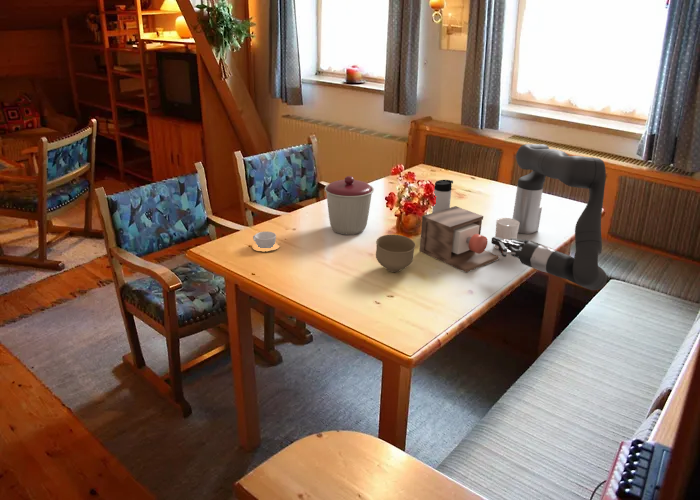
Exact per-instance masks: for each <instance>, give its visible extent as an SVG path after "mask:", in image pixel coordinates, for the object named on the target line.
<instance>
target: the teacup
mask: <svg viewBox="0 0 700 500" xmlns="http://www.w3.org/2000/svg"><path fill="white" fill-rule="evenodd" d="M252 239H253V241H254V243H256V244H257V245H258V247H260V248H271V247H273V245H274V244H275V242H276V240H277V234H276V233H275V232H272V231H260V232H257V233H255V234H254V235H253V236H252Z"/></svg>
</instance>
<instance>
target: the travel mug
mask: <svg viewBox="0 0 700 500" xmlns="http://www.w3.org/2000/svg"><path fill="white" fill-rule="evenodd" d="M453 184H454V180H450V179H440V180H436V181H435V182H434V189H433V194H434V193H435V196H437V197H436V204H435V206H433V205H432V210H431V211H432V213H434V212H438V211H441V210H444V209H448V208H451V198H452V187H453V186H452V185H453ZM434 190H435V191H434Z"/></svg>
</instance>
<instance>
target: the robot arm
mask: <svg viewBox="0 0 700 500" xmlns="http://www.w3.org/2000/svg"><path fill="white" fill-rule="evenodd" d="M515 155H516V156H515V159H516V162H517V163H516V164H517V165H518V167H519V168H520V169H521V170H526V171H527V170H529V171H530V170H531V172H529V173H528V174H526V175H523V176H521V177H519V178H518V180H517V184H516V185H517V186H516V187H517V188H516V193H515V200H514V206H513V212H512V213H513V215H512V219H515V220H517V221H519V223H520V224H519V229H518V233H519V234H526V235H530V234H534V233H536V232H538V231H539V228H540V222H541V217H542V216H541V215H542V209H543V207H541V202H542V195H543V189H544V186H545V185H544V184H545V182H546V178H550V179H553V180H558V181H560V182H561V183H563V184H564V185H565V186H568V187H571V188H577V189H587V190H588V191H589V192H588V193H589V197H588V201H587V203H586V205H585V208H584V209H583V210H582V212H581V214H580V215H579V217H578V218H577V221H576V224H575V226H574V227H575V228H574V243H575V246H574V247H575V252H574V257H573V256H571V255H569V254H567V253H564V252H561V251H558V250H556V249H554V248H552V247H550V246H546V245H544V244H541V243H538V242H535V241H532V240H528V239H522V238H521V239H520V238H516V239H509V240H508V239H501V238H499V237H495V236H492V237H491V244H492V245H494V246H495V245H497V246H499V248H498V249H497V250H498V252H499V253H500V255H501V256H502V257H503V258H506V257H507V256H508V255H510V256H511V257H514V258H518V259H519V261H520V264H522V265H525V266H527V267H529V268H533V269H535V270H537V271H540V272H544V273H547V274H550V275H552V276H555V277H558V278H561V279H563V280H567V281H570V282H571V283H573V284H576V285H578V286H580V287H582V288H584V289H587V290H591V291H597V290H600V289H603V287H605V285H606V284H607V281H608V275H607V273H606V271H605V270H604V269H603V268H602V267H600V266H599V255H600V254H602V250H603V242H602V241H603V240H602V213H603V206H604V205H603V203H604V197H605V189H606V188H605V186H606V174H607V173H606V171H607V170H606V165H605V162H604V160H602V159H601V158H598V157H593V156H592V157H591V156H585V155H584V156H583V155H582V156H581V155H569V154H568V153H567V152H565V151H563V150H559V149H554V148H550V147H549V146H548V144H543V143H540V144H538V143H534V144H533V143H525V144H523V145H521V146H520V147H519V148H518V149H517V151H516V154H515Z"/></svg>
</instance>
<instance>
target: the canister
mask: <svg viewBox="0 0 700 500" xmlns="http://www.w3.org/2000/svg"><path fill="white" fill-rule="evenodd" d="M374 189H375V188H374V187H373V186H372V185H370V184H369V183H367V182H365V181H362V180H359V179H358V180H356V179H355V178H354V177H353V176H352V175H348V176H345V177H344V179H340V180H335V181H332V182H330V183H329V184H327V185H325V187H324V192H326V201H327V211H328V219H329V223H330V227H331V229H332V230H333V231H334V232H335V233H337V234H340V235H358V234H360V233H362V232H364V230H365V229H366V227H367V224H368V220H369V214H370V207H371V200H372V193H374Z"/></svg>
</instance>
